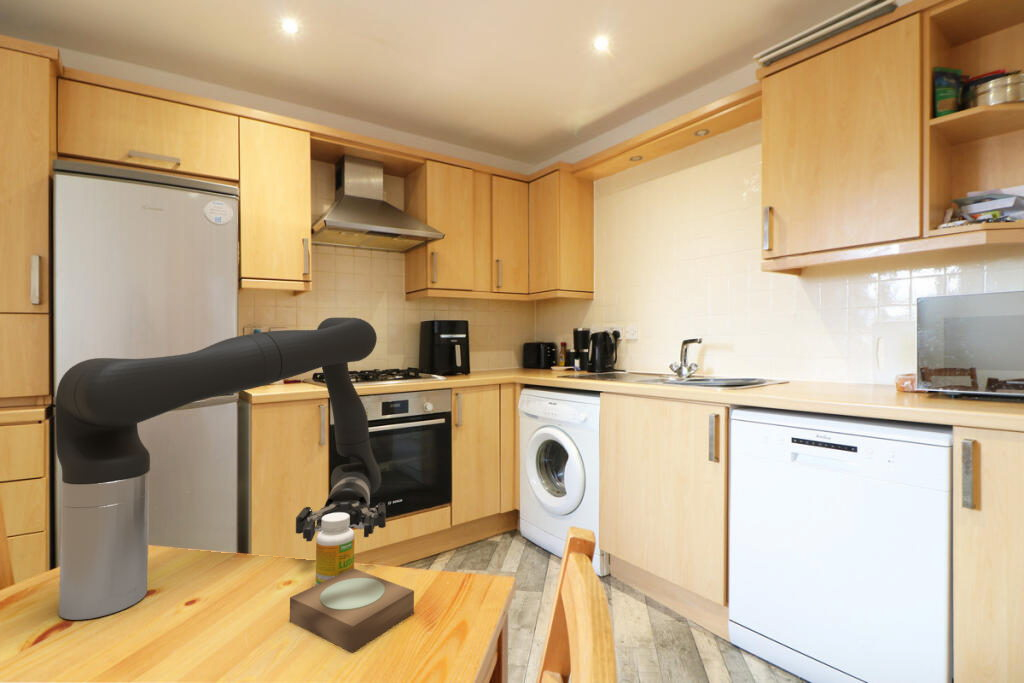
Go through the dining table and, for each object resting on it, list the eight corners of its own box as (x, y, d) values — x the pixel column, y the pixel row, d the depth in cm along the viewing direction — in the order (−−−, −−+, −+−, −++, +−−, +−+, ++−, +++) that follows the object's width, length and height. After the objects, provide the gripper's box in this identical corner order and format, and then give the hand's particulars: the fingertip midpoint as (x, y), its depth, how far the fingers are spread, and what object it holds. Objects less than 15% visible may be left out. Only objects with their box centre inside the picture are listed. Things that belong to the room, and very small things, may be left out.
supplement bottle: (341, 592, 70) (342, 524, 70) (307, 588, 71) (308, 521, 71) (360, 575, 75) (361, 512, 75) (328, 571, 76) (329, 509, 76)
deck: (289, 620, 62) (290, 595, 62) (352, 588, 71) (353, 566, 71) (352, 652, 56) (352, 624, 56) (413, 613, 64) (414, 589, 64)
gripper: (308, 483, 90) (289, 512, 74) (387, 479, 93) (385, 506, 78) (307, 524, 90) (288, 561, 74) (387, 519, 93) (384, 553, 78)
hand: (337, 533), depth 76 cm, fingers open, 8 cm apart
